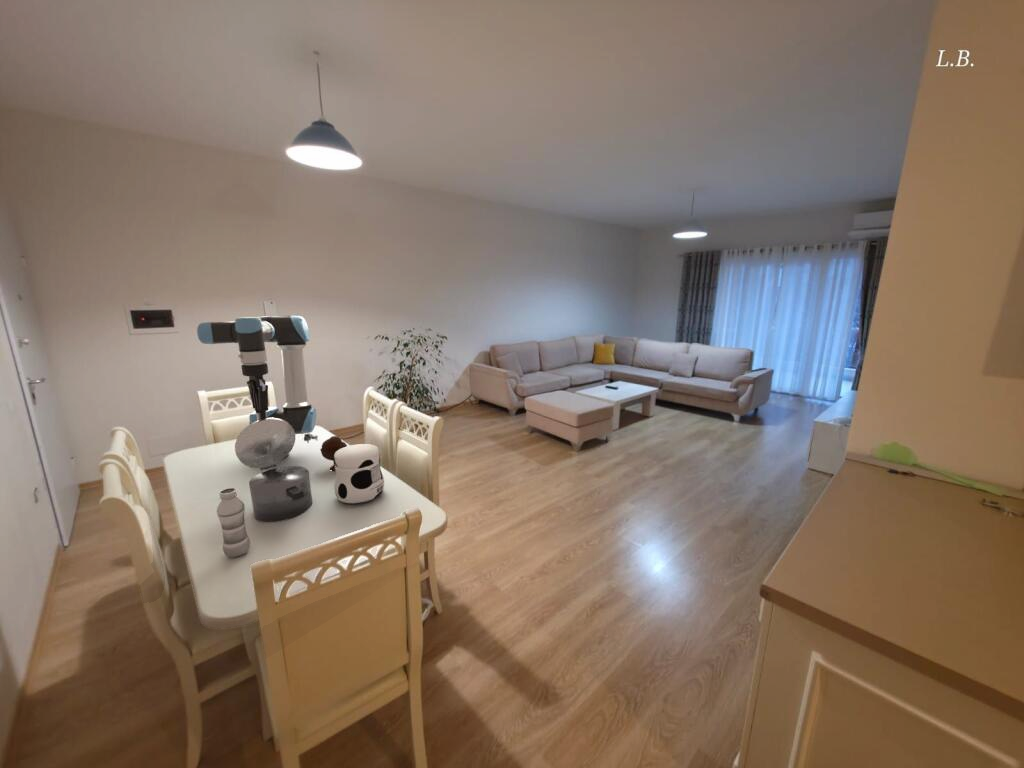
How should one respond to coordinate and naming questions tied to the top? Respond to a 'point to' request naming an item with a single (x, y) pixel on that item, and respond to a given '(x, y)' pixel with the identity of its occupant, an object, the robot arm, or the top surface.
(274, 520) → the pot
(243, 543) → the plastic bottle
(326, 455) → the brown miniature tree
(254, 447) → the lid
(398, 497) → the top surface
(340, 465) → the milk container
